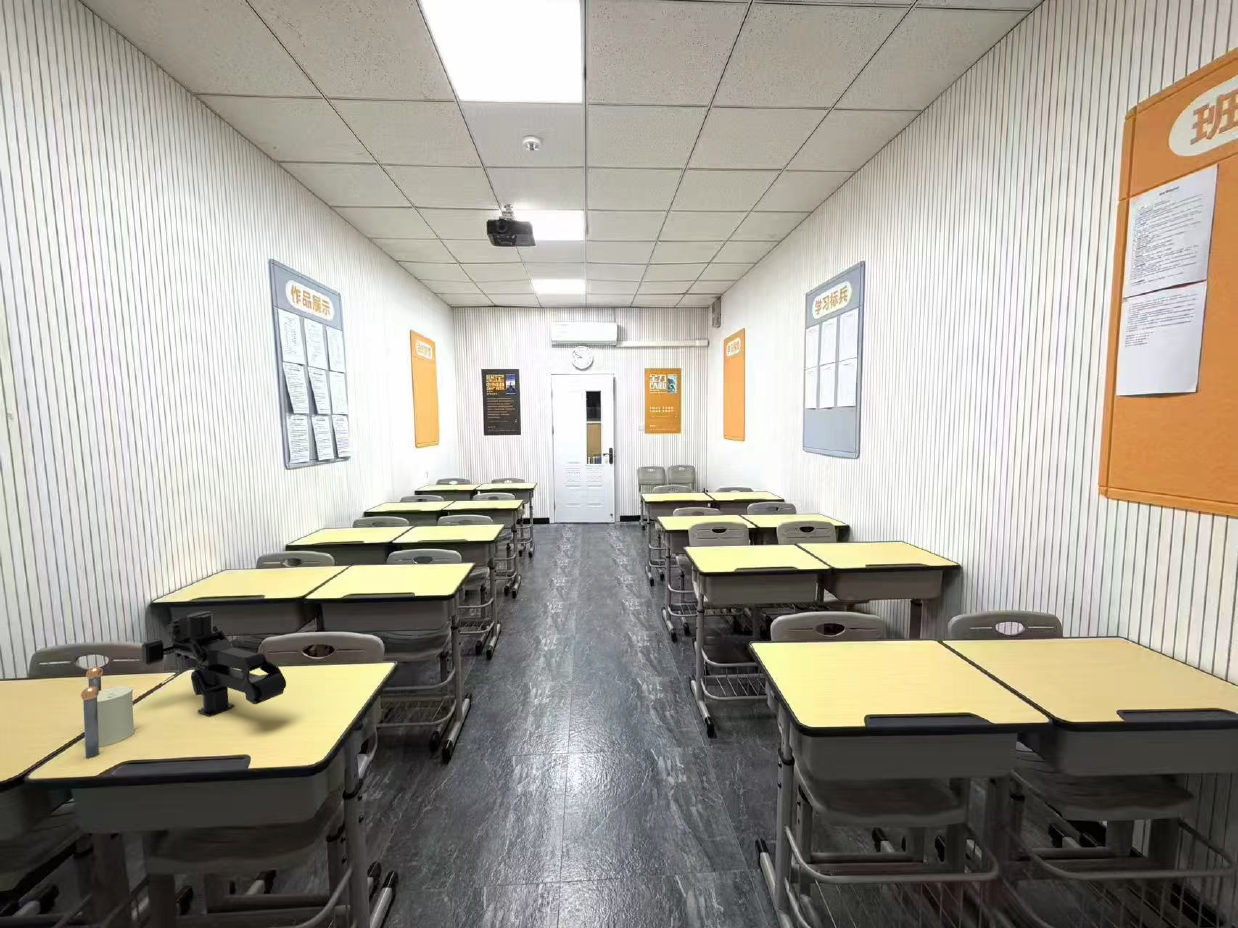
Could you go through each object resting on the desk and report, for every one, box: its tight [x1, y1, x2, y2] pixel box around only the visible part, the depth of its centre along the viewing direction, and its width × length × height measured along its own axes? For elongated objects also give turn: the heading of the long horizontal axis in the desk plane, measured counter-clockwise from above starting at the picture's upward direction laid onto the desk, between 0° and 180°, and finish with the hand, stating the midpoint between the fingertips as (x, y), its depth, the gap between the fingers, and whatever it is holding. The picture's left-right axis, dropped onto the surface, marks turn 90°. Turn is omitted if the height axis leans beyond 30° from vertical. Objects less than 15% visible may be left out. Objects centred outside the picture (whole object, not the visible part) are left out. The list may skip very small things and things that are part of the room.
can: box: [97, 685, 135, 748], centre depth 140 cm, size 9×9×12 cm
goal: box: [80, 666, 104, 759], centre depth 138 cm, size 20×3×17 cm, turn 42°
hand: (167, 639), depth 166 cm, fingers open, 9 cm apart
